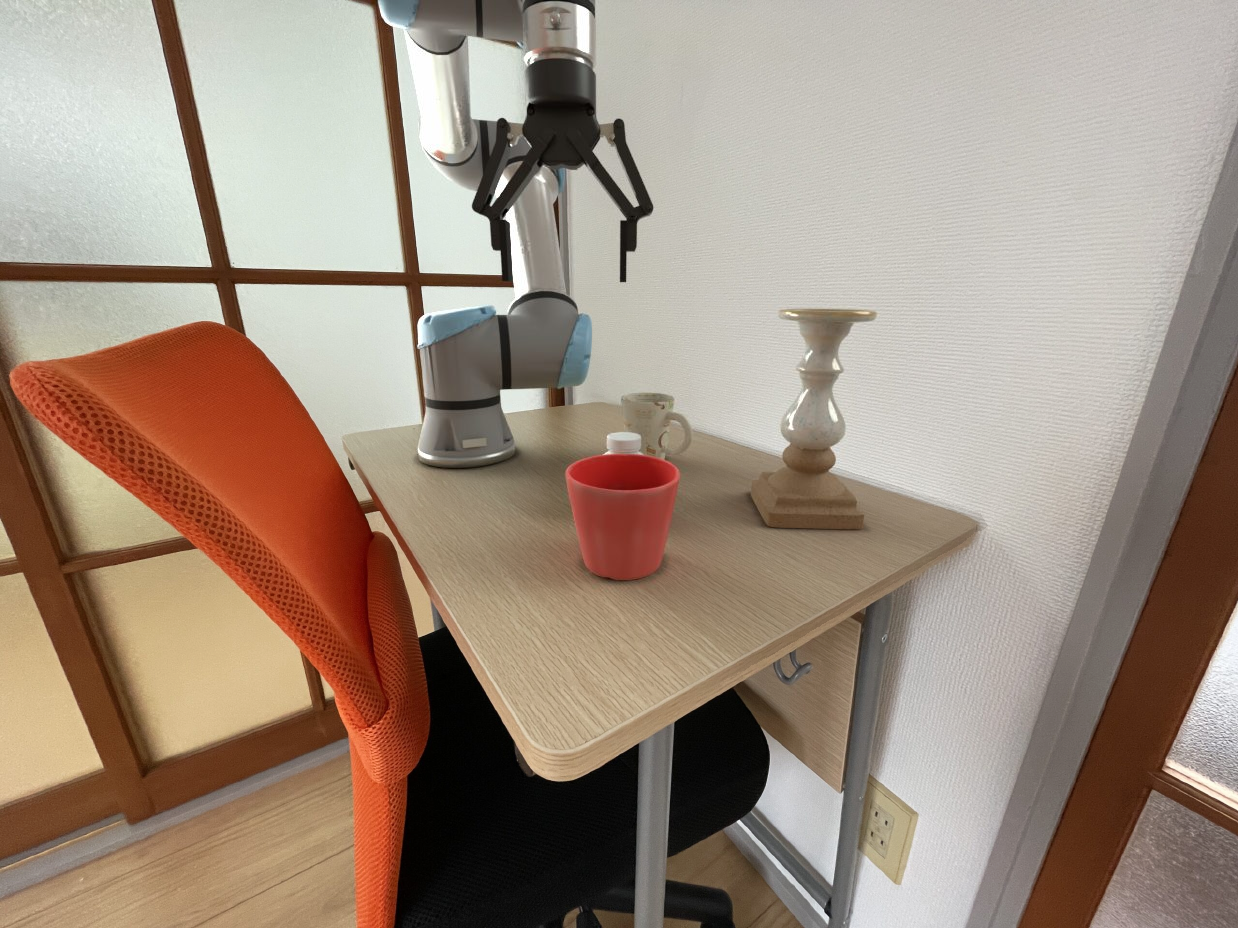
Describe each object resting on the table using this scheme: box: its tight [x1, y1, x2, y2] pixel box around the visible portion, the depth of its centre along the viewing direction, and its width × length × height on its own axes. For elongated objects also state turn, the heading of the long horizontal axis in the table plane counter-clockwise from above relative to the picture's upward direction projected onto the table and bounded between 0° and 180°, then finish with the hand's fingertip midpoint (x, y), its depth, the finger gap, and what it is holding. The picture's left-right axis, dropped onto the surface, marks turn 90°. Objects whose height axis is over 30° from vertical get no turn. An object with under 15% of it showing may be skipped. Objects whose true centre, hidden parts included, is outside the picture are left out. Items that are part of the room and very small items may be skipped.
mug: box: [620, 392, 694, 460], centre depth 83 cm, size 8×13×10 cm, turn 54°
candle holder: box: [750, 308, 878, 530], centre depth 62 cm, size 11×11×24 cm
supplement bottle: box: [602, 431, 643, 455], centre depth 62 cm, size 5×5×10 cm
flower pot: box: [565, 454, 681, 581], centre depth 51 cm, size 11×11×10 cm
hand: (565, 282), depth 62 cm, fingers open, 13 cm apart
